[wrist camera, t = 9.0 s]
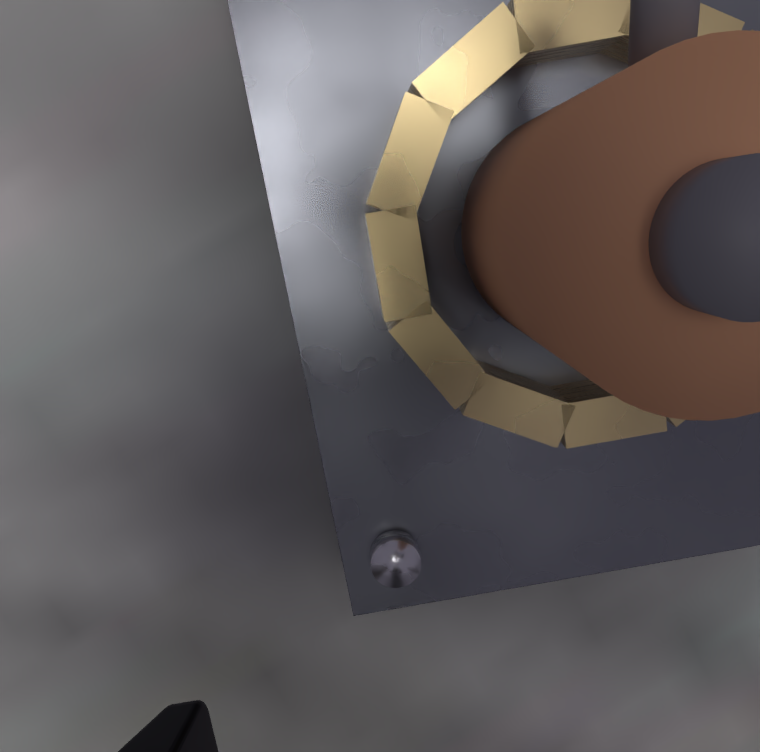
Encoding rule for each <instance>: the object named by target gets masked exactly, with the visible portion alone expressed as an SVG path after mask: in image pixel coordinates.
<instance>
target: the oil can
mask: <svg viewBox="0 0 760 752" xmlns="http://www.w3.org/2000/svg"><path fill="white" fill-rule="evenodd" d="M700 2H701V0H630V24H629V49H628V68H626V69H624V70H622V71H620V72H619V73H617V74H615V75H613V76H611V77H609V78H608V79H606V80H604V81H602V82H600V83H598V84H596V85H595V86H593V87H591V88H589V89H587V90H585V91H584V92H582V93H580V94H578V95H576V96H574V97H573V98H571V99H569V100H567V101H565V102H563V103H561V104H560V105H558V106H556V107H554V108H552V109H550V110H549V111H547V112H545V113H543V114H541V115H539V116H537V117H536V118H534V119H532V120H530V121H528V122H527V123H525V124H523V125H521V126H519V127H518V128H516V129H515V130H514V131H512V132H511V133H510V134H508V135H507V136H506V137H504V138H503V139H502V140H501V141H500V142H499V143H498V144H497V145H496V146H495V147H494V148H493V149H492V151H491V152H490V153H489V154H488V156H487V157H486V158H485V159H484V161H483V162H482V164H481V166H480V167H479V169H478V171H477V172H476V174H475V176H474V178H473V181H472V183H471V185H470V187H469V190H468V193H467V197H466V200H465V203H464V209H463V214H462V226H461V238H462V249H463V254H464V258H465V263H466V266H467V268H468V271H469V274H470V277H471V279H472V281H473V283H474V285H475V286H476V288H477V290H478V292H479V293H480V294H481V296H482V297H483V299H484V300H485V301H486V302H487V304H488V305H489V306H490V307H491V308H492V309H493V310H494V311H495V312H496V313H497V314H499V315H500V316H501V317H502V318H503V319H505V320H506V321H507V322H509V323H510V324H512V325H513V326H514V327H516V328H517V329H519V330H520V331H521V332H523V333H524V334H526V335H527V336H529V337H530V338H531V339H533V340H534V341H536V342H537V343H538V344H540V345H541V346H543V347H544V348H546V349H547V350H548V351H550V352H551V353H553V354H554V355H555V356H557V357H558V358H560V359H561V360H563V361H564V362H565V363H567V364H568V365H570V366H571V367H572V368H574V369H575V370H577V371H578V372H580V373H581V374H582V375H584V376H585V377H587V378H588V379H589V380H591V381H592V382H594V383H595V384H597V385H598V386H599V387H601V388H602V389H604V390H605V391H607V392H608V393H610V394H612V395H613V396H615V397H617V398H618V399H620V400H621V401H623V402H625V403H627V404H630V405H632V406H634V407H637V408H639V409H641V410H643V411H646V412H650V413H653V414H657V415H661V416H664V417H669V418H676V419H683V420H705V421H713V420H721V419H730V418H737V417H741V416H745V415H749V414H753V413H758V412H760V31H748V30H735V31H726V32H717V33H710V34H706V35H702V36H698V37H697V35H698V24H699V13H700Z"/></svg>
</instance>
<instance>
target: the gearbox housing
mask: <svg viewBox="0 0 760 752" xmlns="http://www.w3.org/2000/svg"><path fill="white" fill-rule="evenodd" d="M228 5H229V10H230V15H231V20H232V25H233V29H234V34H235V39H236V44H237V49H238V54H239V59H240V64H241V69H242V73H243V78H244V83H245V88H246V93H247V98H248V103H249V108H250V112H251V117H252V122H253V127H254V132H255V137H256V142H257V147H258V152H259V156H260V161H261V166H262V171H263V176H264V181H265V186H266V191H267V196H268V200H269V205H270V210H271V215H272V220H273V225H274V230H275V235H276V239H277V244H278V249H279V254H280V259H281V264H282V269H283V274H284V279H285V283H286V288H287V293H288V298H289V303H290V308H291V313H292V318H293V323H294V327H295V332H296V337H297V342H298V347H299V352H300V357H301V362H302V367H303V371H304V376H305V381H306V386H307V391H308V396H309V401H310V406H311V410H312V415H313V420H314V425H315V430H316V435H317V440H318V445H319V450H320V454H321V459H322V464H323V469H324V474H325V479H326V484H327V489H328V494H329V498H330V503H331V508H332V513H333V518H334V523H335V528H336V533H337V537H338V542H339V547H340V552H341V557H342V562H343V567H344V572H345V577H346V581H347V586H348V591H349V596H350V601H351V606H352V611H353V616H356V615H362V614H368V613H373V612H379V611H385V610H390V609H396V608H402V607H408V606H413V605H419V604H425V603H431V602H436V601H442V600H448V599H454V598H459V597H465V596H471V595H476V594H482V593H488V592H494V591H499V590H505V589H511V588H517V587H522V586H528V585H534V584H539V583H545V582H551V581H557V580H562V579H568V578H574V577H580V576H585V575H591V574H597V573H602V572H608V571H614V570H620V569H625V568H631V567H637V566H643V565H648V564H654V563H660V562H666V561H671V560H677V559H683V558H688V557H694V556H700V555H706V554H711V553H717V552H723V551H729V550H734V549H740V548H746V547H751V546H757V545H760V412H758V413H753V414H749V415H745V416H741V417H737V418H730V419H721V420H713V421H705V420H683V419H676V418H669V417H664V416H661V415H657V414H653V413H650V412H646V411H643V410H641V409H639V408H637V407H634V406H632V405H630V404H627V403H625V402H623V401H621V400H620V399H618V398H617V397H615V396H613V395H612V394H610V393H608V392H607V391H605V390H604V389H602V388H601V387H599V386H598V385H597V384H595V383H594V382H592V381H591V380H589V379H588V378H587V377H585V376H584V375H582V374H581V373H580V372H578V371H577V370H575V369H574V368H572V367H571V366H570V365H568V364H567V363H565V362H564V361H563V360H561V359H560V358H558V357H557V356H555V355H554V354H553V353H551V352H550V351H548V350H547V349H546V348H544V347H543V346H541V345H540V344H538V343H537V342H536V341H534V340H533V339H531V338H530V337H529V336H527V335H526V334H524V333H523V332H521V331H520V330H519V329H517V328H516V327H514V326H513V325H512V324H510V323H509V322H507V321H506V320H505V319H503V318H502V317H501V316H500V315H499V314H497V313H496V312H495V311H494V310H493V309H492V308H491V307H490V306H489V305H488V304H487V302H486V301H485V300H484V299H483V297H482V296H481V294H480V293H479V292H478V290H477V288H476V286H475V285H474V283H473V281H472V279H471V277H470V274H469V271H468V268H467V266H466V263H465V258H464V254H463V249H462V238H461V226H462V214H463V209H464V203H465V200H466V197H467V193H468V190H469V187H470V185H471V183H472V181H473V178H474V176H475V174H476V172H477V171H478V169H479V167H480V166H481V164H482V162H483V161H484V159H485V158H486V157H487V156H488V154H489V153H490V152H491V151H492V149H493V148H494V147H495V146H496V145H497V144H498V143H499V142H500V141H501V140H502V139H503V138H504V137H506V136H507V135H508V134H510V133H511V132H512V131H514V130H515V129H516V128H518V127H519V126H521V125H523V124H525V123H527V122H528V121H530V120H532V119H534V118H536V117H537V116H539V115H541V114H543V113H545V112H547V111H549V110H550V109H552V108H554V107H556V106H558V105H560V104H561V103H563V102H565V101H567V100H569V99H571V98H573V97H574V96H576V95H578V94H580V93H582V92H584V91H585V90H587V89H589V88H591V87H593V86H595V85H596V84H598V83H600V82H602V81H604V80H606V79H608V78H609V77H611V76H613V75H615V74H617V73H619V72H620V71H622V70H624V69H626V68H628V49H629V24H630V0H228ZM735 30H748V31H760V0H701V2H700V13H699V24H698V35H697V37H698V36H702V35H706V34H710V33H717V32H726V31H735Z"/></svg>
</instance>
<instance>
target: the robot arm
mask: <svg viewBox="0 0 760 752" xmlns="http://www.w3.org/2000/svg"><path fill="white" fill-rule="evenodd" d="M118 752H218V748H217V744H216V740H215V736H214V732H213V728H212V723H211V719H210V715H209V711H208V708H207V706H206V705H205V703H204V702H202V701H201V700H196V701H190V702H183V703H177V704H172V705H169V706H167V707H166V708H165V709H164V710H163V711H162V712H160V713H159V714H158V715H157V716H156V717H155V718H154V719H153V720H152V721H151V722H150V723H149V724H147V725H146V726H145V727H144V728H143V729H142V730H141V731H140V732H139V733H138V734H137V735H136V736H134V737H133V738H132V739H131V740H130V741H129V742H128V743H127V744H126V745H125V746H124V747H123V748H121V749H120V750H119V751H118Z"/></svg>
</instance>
